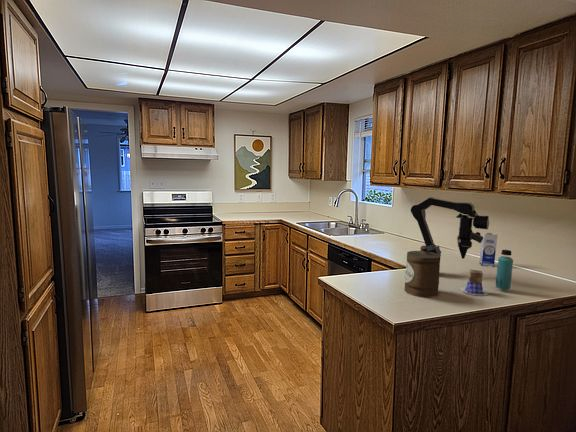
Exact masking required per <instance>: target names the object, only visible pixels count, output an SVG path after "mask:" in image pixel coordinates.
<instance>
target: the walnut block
mask: <svg viewBox="0 0 576 432" xmlns="http://www.w3.org/2000/svg"><path fill="white" fill-rule="evenodd" d="M483 275H484V274H483V271H482V270H479V269H478V270H476V269H469V275H468V281H470V283H478V284H482V285H483V277H484V276H483Z"/></svg>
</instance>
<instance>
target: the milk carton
mask: <svg viewBox="0 0 576 432" xmlns="http://www.w3.org/2000/svg"><path fill="white" fill-rule="evenodd" d="M481 236H483V240H482V242H481V243H480V244H481V246H480V255H479V265H480V266H481V267H488V266H492V267H491V268H495V260H496V251H497V242H498V234H493V233H492V232H487V233H483V234H481Z"/></svg>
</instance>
